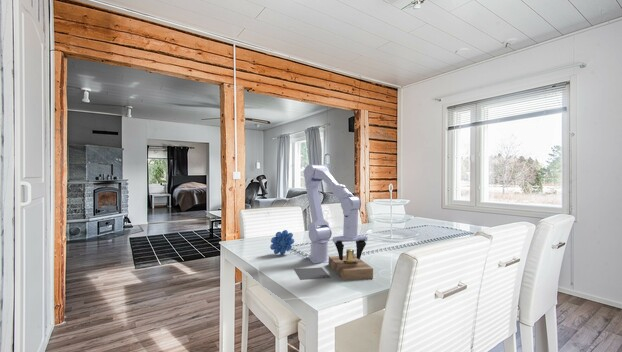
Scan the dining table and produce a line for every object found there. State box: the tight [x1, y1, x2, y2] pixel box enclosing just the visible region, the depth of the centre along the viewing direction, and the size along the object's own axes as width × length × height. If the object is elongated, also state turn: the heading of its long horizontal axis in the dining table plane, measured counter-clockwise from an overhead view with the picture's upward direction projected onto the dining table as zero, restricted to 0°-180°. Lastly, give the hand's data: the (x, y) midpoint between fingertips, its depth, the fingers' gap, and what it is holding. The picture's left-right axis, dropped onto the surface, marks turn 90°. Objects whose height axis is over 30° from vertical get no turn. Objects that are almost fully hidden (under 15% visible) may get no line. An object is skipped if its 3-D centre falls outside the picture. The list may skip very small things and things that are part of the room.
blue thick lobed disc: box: [270, 229, 295, 256], centre depth 141 cm, size 12×7×12 cm, turn 100°
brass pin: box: [345, 248, 355, 264], centre depth 118 cm, size 3×3×9 cm
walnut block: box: [328, 254, 374, 281], centre depth 118 cm, size 18×12×4 cm, turn 15°
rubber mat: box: [293, 266, 331, 281], centre depth 114 cm, size 12×12×1 cm
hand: (349, 259), depth 118 cm, fingers open, 7 cm apart
